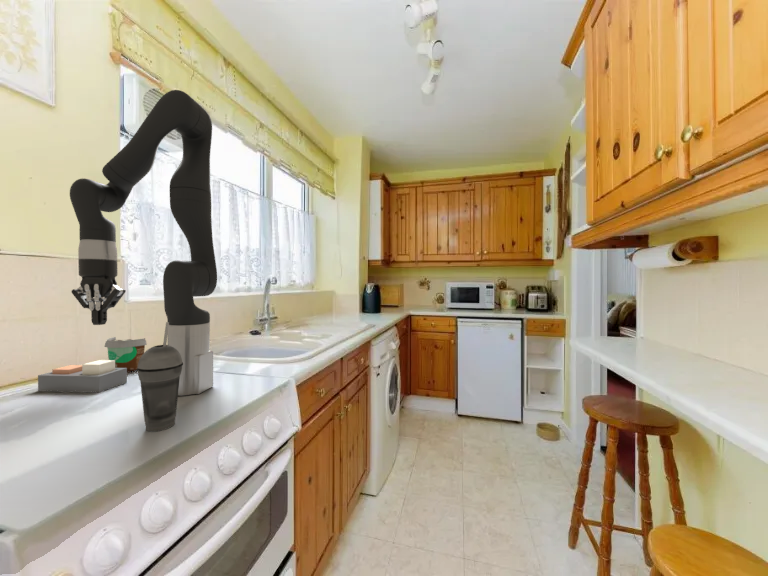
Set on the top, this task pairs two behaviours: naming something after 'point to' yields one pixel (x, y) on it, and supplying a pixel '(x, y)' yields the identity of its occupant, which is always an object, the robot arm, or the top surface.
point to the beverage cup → (160, 384)
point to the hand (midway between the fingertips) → (99, 324)
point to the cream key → (98, 367)
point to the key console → (81, 381)
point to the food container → (125, 352)
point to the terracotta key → (67, 369)
